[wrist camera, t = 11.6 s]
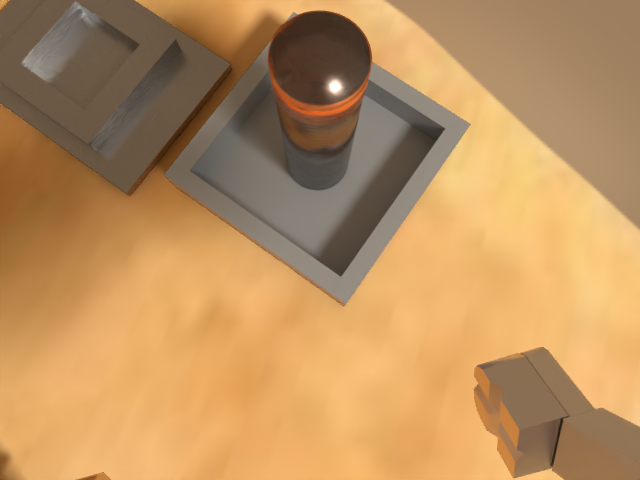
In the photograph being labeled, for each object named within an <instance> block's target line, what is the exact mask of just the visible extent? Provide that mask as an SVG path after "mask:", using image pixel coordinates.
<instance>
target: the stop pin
mask: <svg viewBox="0 0 640 480" xmlns="http://www.w3.org/2000/svg"><path fill="white" fill-rule="evenodd" d="M371 65H372V53H371V48H370V44H369V42H368V40H367V37H366V36H365V34H364V33H363V31H362V30H361V29H360V28H359V27H358V26H357V25H356V24H355V23H354V22H353V21H351V20H350V19H348V18H346V17H344V16H342V15H340V14H337V13H334V12H329V11H309V12H305V13H302V14H299V15H297V16H295V17H293V18H291V19H289V20H288V21H286V22H285V23H284V24H283V25H282V26H281V27H280V28H279V29H278V30H277V32H276V33H275V35H274V36H273V38H272V40H271V43H270V46H269V50H268V67H269V73H270V78H271V84H272V89H273V93H274V96H275V99H276V105H277V110H278V116H279V122H280V128H281V133H282V139H283V145H284V150H285V156H286V162H287V167H288V171H289V173H290V175H291V177H292V178H293V179H294V180H295V181H296V182H297V183H298V184H299V185H301V186H302V187H304V188H307V189H310V190H318V191H319V190H326V189H329V188H331V187H333V186H335V185H336V184H338V183H339V182H340V181H341V180H342V178H343V177H344V175H345V174H346V171H347V168H348V164H349V159H350V155H351V150H352V146H353V141H354V137H355V132H356V128H357V123H358V119H359V114H360V110H361V105H362V100H363V98H364V96H365V92H366V88H367V84H368V79H369V75H370V71H371Z"/></svg>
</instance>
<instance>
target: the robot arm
mask: <svg viewBox="0 0 640 480" xmlns="http://www.w3.org/2000/svg"><path fill="white" fill-rule="evenodd" d="M474 377H475V378H476V380H477V382H478V385H477V386H476V387H475V388H474V399H475V403H476V407H477V411H478V413H479V416H480V418H481V420H482V422H483V424H484V426H485V428H486V430H487V431H489V432H490V433H492V434H493V435H495V436H497V437H498V445H497V450H498V452H499V453H500V455H501V457H502V459H503V461H504V463H505V464H506V466H507V468H508V470H509V472H510V473H511V475H512V477H513V478H517V477H521V476H525V475H528V474H532V473H536V472H539V471H543V470H547V469H551V468H552V471H554V472H555V473H556V474H558V475H559V476H560V477H562V478H563V479H564V480H640V427H639V426H637V425H635V424H633V423H631V422H629V421H627V420H625V419H623V418H621V417H619V416H617V415H615V414H613V413H612V412H610V411H608V410H606V409H604V408H598V409H594V407H593V406H592V405H591V404H590V402H589V401H588V400H587V399H586V397H585V396H584V395H583V394H582V392H581V391H580V390H579V388H578V387H577V386H576V385H575V383H574V382H573V381H572V380H571V378H570V377H569V376H568V375H567V373H566V372H565V371H564V370H563V368H562V367H561V366H560V365H559V363H558V362H557V361H556V360H555V358H554V357H553V356H552V355H551V353H550V352H549V351H548V350H547V349H545V348H543V347H539V348H535V349H532V350H529V351H526V352H522V353H516V354H513V355H510V356H506V357H503V358H500V359H497V360H493V361H490V362H487V363H483V364H480V365H477V366H476V367H475V372H474ZM77 480H111V479H110V478H109V477H108V476H107V475H106V474H105V473H104V472H102V473H98V474H95V475H91V476H88V477H84V478H80V479H77Z"/></svg>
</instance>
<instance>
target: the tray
mask: <svg viewBox="0 0 640 480" xmlns="http://www.w3.org/2000/svg"><path fill="white" fill-rule="evenodd" d="M295 16H297V14H296V13H294V12H293V14H292V15H291V16H290V17H289V19H291V18H293V17H295ZM289 19H288V20H289ZM288 20H287V21H288ZM270 43H271V41H270V42H269V44H268V45H267V46H266V47H265V49H264V50H263V51H262V52H261V54H260V55H259V56H258V57H257V59H256V60H255V61H254V62H253V64H252V65H251V66H250V67H249V69H248V70H247V71H246V72H245V74H244V75H243V76H242V77H241V79H240V80H239V81H238V82H237V84H236V85H235V86H234V87H233V89H232V90H231V91H230V92H229V94H228V95H227V96H226V97H225V99H224V100H223V101H222V102H221V104H220V105H219V106H218V107H217V109H216V110H215V111H214V112H213V114H212V115H211V116H210V117H209V119H208V120H207V121H206V122H205V124H204V125H203V126H202V127H201V129H200V130H199V131H198V132H197V134H196V135H195V136H194V137H193V139H192V140H191V141H190V143H189V144H188V145H187V146H186V148H185V149H184V150H183V151H182V153H181V154H180V155H179V156H178V158H177V159H176V160H175V161H174V163H173V164H172V165H171V166H170V168H169V169H168V170H167V171H166V173H165V174H164V176H165V177H166V178H167V179H168V180H169V181H170V182H171V183H172V184H174V185H175V186H176V187H177V188H178V189H179V190H181V191H182V192H183V193H185V194H186V195H188V196H189V197H190V198H192V199H193V200H195V201H196V202H198V203H199V204H200V205H202V206H203V207H205V208H206V209H207V210H209V211H210V212H212V213H213V214H214V215H216V216H217V217H219V218H220V219H221V220H223V221H224V222H226V223H227V224H229V225H230V226H231V227H233V228H234V229H236V230H237V231H238V232H240V233H241V234H243V235H244V236H245V237H247V238H248V239H250V240H251V241H253V242H254V243H255V244H257V245H258V246H260V247H261V248H262V249H264V250H265V251H267V252H268V253H269V254H271V255H272V256H274V257H275V258H276V259H278V260H279V261H281V262H282V263H284V264H285V265H286V266H288V267H289V268H291V269H292V270H293V271H295V272H296V273H298V274H299V275H300V276H302V277H303V278H305V279H306V280H308V281H309V282H310V283H312V284H313V285H315V286H316V287H317V288H319V289H320V290H322V291H323V292H324V293H326V294H327V295H329V296H330V297H331V298H333V299H334V300H336V301H337V302H339V303H340V304H341V305H343V306H345V305H346V303H347V302H348V301H349V299H350V298H351V296H352V295H353V293H354V292H355V290H356V289H357V288H358V286H359V285H360V283H361V282H362V280H363V279H364V277H365V276H366V275H367V273H368V272H369V270H370V269H371V267H372V266H373V264H374V263H375V262H376V260H377V259H378V257H379V256H380V254H381V253H382V252H383V250H384V249H385V247H386V246H387V244H388V243H389V241H390V240H391V239H392V237H393V236H394V234H395V233H396V231H397V230H398V228H399V227H400V226H401V224H402V223H403V221H404V220H405V218H406V217H407V215H408V214H409V213H410V211H411V210H412V208H413V207H414V205H415V204H416V202H417V201H418V200H419V198H420V197H421V195H422V194H423V192H424V191H425V189H426V188H427V187H428V185H429V184H430V182H431V181H432V179H433V178H434V176H435V175H436V174H437V172H438V171H439V169H440V168H441V166H442V165H443V163H444V162H445V161H446V159H447V158H448V156H449V155H450V153H451V152H452V150H453V149H454V148H455V146H456V145H457V143H458V142H459V140H460V139H461V137H462V136H463V135H464V133H465V132H466V130H467V129H468V127H469V126H470V124H469V123H468V122H466V121H465V120H463V119H462V118H460V117H458V116H457V115H455V114H454V113H452V112H451V111H449V110H447V109H446V108H444V107H443V106H441V105H439V104H438V103H436V102H435V101H433V100H432V99H430V98H428V97H427V96H425V95H424V94H422V93H421V92H419V91H417V90H416V89H414V88H413V87H411V86H409V85H408V84H406V83H405V82H403V81H402V80H400V79H398V78H397V77H395V76H394V75H392V74H391V73H389V72H387V71H386V70H384V69H383V68H381V67H379V66H378V65H376V64H375V63H373V62H372V65H371V71H370V75H369V79H368V84H367V88H366V92H365V96H364V98H363V100H362V105H361V110H360V114H359V119H358V123H357V128H356V132H355V137H354V141H353V146H352V150H351V155H350V159H349V164H348V168H347V171H346V174H345V175H344V177H343V178H342V180H341V181H340V182H339V183H338V184H336V185H335V186H333V187H331V188H329V189H326V190H319V191H318V190H310V189H307V188H304V187H302V186H301V185H299V184H298V183H297V182H296V181H295V180H294V179H293V178H292V177H291V175H290V173H289V171H288V167H287V162H286V156H285V150H284V145H283V139H282V133H281V128H280V122H279V116H278V110H277V105H276V99H275V96H274V93H273V89H272V84H271V78H270V73H269V67H268V50H269V46H270Z"/></svg>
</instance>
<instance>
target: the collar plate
mask: <svg viewBox="0 0 640 480" xmlns="http://www.w3.org/2000/svg"><path fill="white" fill-rule="evenodd" d="M231 70H232V67H231V64H230V63H228V62H227V61H225V60H224V59H222V58H221V57H219V56H218V55H216V54H215V53H213V52H212V51H210V50H209V49H207V48H206V47H204V46H203V45H201V44H200V43H198V42H197V41H195V40H194V39H192V38H190V37H189V36H187V35H186V34H184V33H183V32H181V31H180V30H178V29H177V28H175V27H174V26H172V25H171V24H169V23H168V22H166V21H165V20H163V19H162V18H160V17H159V16H157V15H156V14H154V13H153V12H151V11H150V10H148V9H147V8H145V7H144V6H142V5H141V4H139V3H138V2H136V1H134V0H11V1H10V2H9V3H8V4H7V5H6V6H5V7H4V8H3V9H2V10H1V11H0V103H1V104H3V105H4V106H6V107H7V108H8V109H10V110H11V111H12V112H14V113H15V114H17V115H18V116H19V117H21V118H22V119H24V120H25V121H26V122H28V123H29V124H30V125H32V126H33V127H35V128H36V129H37V130H39V131H40V132H42V133H43V134H44V135H46V136H47V137H48V138H50V139H51V140H53V141H54V142H55V143H57V144H58V145H60V146H61V147H62V148H64V149H65V150H67V151H68V152H69V153H71V154H72V155H73V156H75V157H76V158H78V159H79V160H80V161H82V162H83V163H85V164H86V165H87V166H89V167H90V168H91V169H93V170H94V171H96V172H97V173H98V174H100V175H101V176H103V177H104V178H105V179H107V180H108V181H109V182H111V183H112V184H114V185H115V186H116V187H118V188H119V189H121V190H122V191H123V192H125V193H126V194H128V195H129V196H131V195H132V193H133V192H134V191H135V190H136V188H137V187H138V186H139V185H140V183H141V182H142V181H143V180H144V178H145V177H146V176H147V175H148V173H149V172H150V171H151V170H152V169H153V167H154V166H155V165H156V164H157V162H158V161H159V160H160V159H161V157H162V156H163V155H164V154H165V152H166V151H167V150H168V149H169V147H170V146H171V145H172V144H173V142H174V141H175V140H176V139H177V137H178V136H179V135H180V134H181V132H182V131H183V130H184V129H185V127H186V126H187V125H188V124H189V123H190V121H191V120H192V119H193V118H194V116H195V115H196V114H197V113H198V111H199V110H200V109H201V108H202V106H203V105H204V104H205V103H206V101H207V100H208V99H209V98H210V96H211V95H212V94H213V93H214V91H215V90H216V89H217V88H218V86H219V85H220V84H221V83H222V82H223V80H224V79H225V78H226V77H227V75H228V74H229V73H230V72H231Z"/></svg>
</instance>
